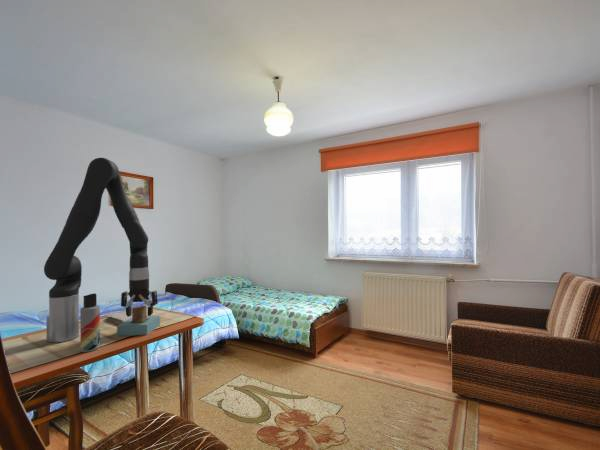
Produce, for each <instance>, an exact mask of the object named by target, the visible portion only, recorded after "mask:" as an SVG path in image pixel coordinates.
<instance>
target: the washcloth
mask: <svg viewBox="0 0 600 450" xmlns="http://www.w3.org/2000/svg"><path fill="white" fill-rule="evenodd" d="M106 316H107V317H106V320H107V321H109V322H113V323H116V324H118V325H120V324H121V323H123V322H125V321H127V320H128V319H130V318H132V315H131V316H129V317H127V315H126V310H124V311H120V312H114V313H111V314H110V313H109V314H107V315H106ZM147 317H148V315H147Z"/></svg>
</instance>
